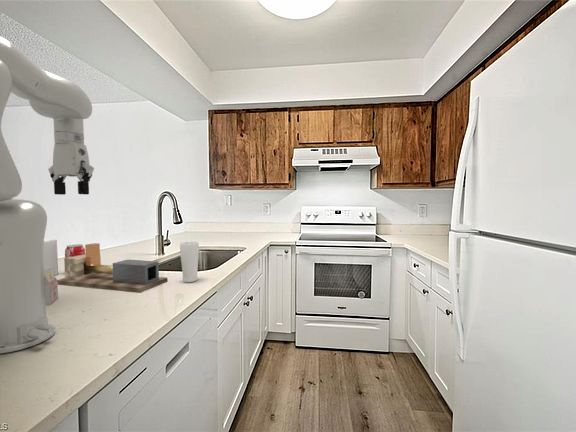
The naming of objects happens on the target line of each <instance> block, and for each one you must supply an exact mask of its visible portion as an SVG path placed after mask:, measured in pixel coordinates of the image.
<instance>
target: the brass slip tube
mask: <svg viewBox="0 0 576 432" xmlns="http://www.w3.org/2000/svg"><path fill="white" fill-rule="evenodd" d="M84 248H85V254H86V264H85V263H84V272H92V273H104V274H113V264H111V265H108V264H101V265H98V264H100V259H101V251H100V250H101V245H100V243H99V242H98V243H95V242H94V243H87V244H84Z"/></svg>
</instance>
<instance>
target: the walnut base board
mask: <svg viewBox="0 0 576 432" xmlns="http://www.w3.org/2000/svg"><path fill="white" fill-rule="evenodd" d="M167 282H168V277H165V276H164V277H163V276H159V280H157V281H155V282H152V283H150V284H147V285H138V284H127V283H116V282H113V274H104V273H101V274H98V275H95V276H91V277H88V278H84V279H80V280H68V279H65V277H63V278H59V279H57V283H58V285H61V286H69V287H70V286H71V287H72V286H73V287H79V288H80V287H82V288H91V289H101V290H110V291H119V292H130V293H131V292H132V293H138V294H139V293H142V292H145V291H147V290H151V289H153V288H155V287H157V286H160V285H162V284H165V283H167Z"/></svg>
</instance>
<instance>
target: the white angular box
mask: <svg viewBox="0 0 576 432" xmlns="http://www.w3.org/2000/svg"><path fill="white" fill-rule="evenodd" d="M57 280H58V279H57V277H56V275H54V274H53V272H52V271H51V268H48V269H47V270H45V271H44V284H45V305H46V306H51V305H53V304H54V303H55V302H56V301H57V300H58V299H59V289H58V285H59V284H58V283H57Z"/></svg>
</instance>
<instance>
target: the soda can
mask: <svg viewBox="0 0 576 432" xmlns="http://www.w3.org/2000/svg"><path fill="white" fill-rule="evenodd" d="M84 254H86V253H85V246H84V244H82V243H81V244H80V243H79V244H69V245H68V244H67V245H66V248H65V249H64V258H68V257H74V256H79V255H84Z"/></svg>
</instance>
